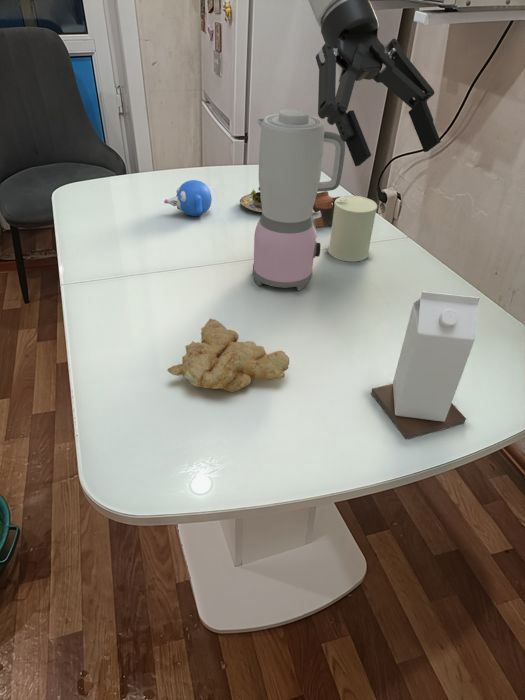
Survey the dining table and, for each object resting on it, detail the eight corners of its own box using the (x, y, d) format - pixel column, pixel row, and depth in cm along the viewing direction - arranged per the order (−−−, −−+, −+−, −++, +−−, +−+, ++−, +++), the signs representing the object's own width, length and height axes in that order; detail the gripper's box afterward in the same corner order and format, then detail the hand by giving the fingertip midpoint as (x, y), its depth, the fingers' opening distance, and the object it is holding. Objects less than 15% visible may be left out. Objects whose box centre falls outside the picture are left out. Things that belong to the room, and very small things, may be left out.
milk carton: (392, 383, 80) (419, 277, 68) (438, 389, 79) (474, 283, 67) (394, 416, 74) (425, 306, 62) (444, 422, 73) (484, 313, 62)
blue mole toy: (159, 209, 131) (156, 176, 126) (203, 203, 135) (202, 171, 130) (171, 228, 123) (169, 194, 117) (218, 221, 126) (218, 188, 121)
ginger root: (151, 361, 81) (158, 317, 77) (231, 346, 91) (241, 307, 87) (203, 422, 72) (215, 377, 68) (286, 398, 82) (300, 357, 78)
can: (329, 241, 120) (335, 191, 113) (368, 245, 119) (377, 195, 112) (326, 259, 113) (333, 207, 106) (368, 264, 112) (378, 212, 105)
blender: (249, 290, 101) (253, 119, 82) (254, 261, 111) (259, 101, 91) (328, 296, 101) (352, 125, 81) (326, 266, 111) (347, 106, 91)
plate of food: (233, 201, 137) (233, 174, 132) (273, 196, 140) (275, 169, 136) (250, 219, 128) (250, 190, 123) (292, 213, 132) (294, 185, 127)
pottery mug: (304, 231, 125) (297, 197, 123) (302, 232, 134) (295, 200, 133) (353, 219, 124) (346, 184, 122) (347, 220, 133) (340, 188, 132)
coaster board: (425, 380, 82) (426, 375, 81) (464, 423, 75) (466, 418, 74) (370, 393, 79) (371, 388, 79) (406, 439, 72) (407, 434, 71)
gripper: (390, 31, 81) (440, 154, 81) (259, 38, 70) (316, 181, 69) (423, -7, 74) (477, 127, 74) (284, -6, 63) (346, 152, 63)
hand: (399, 154), depth 72 cm, fingers open, 13 cm apart
